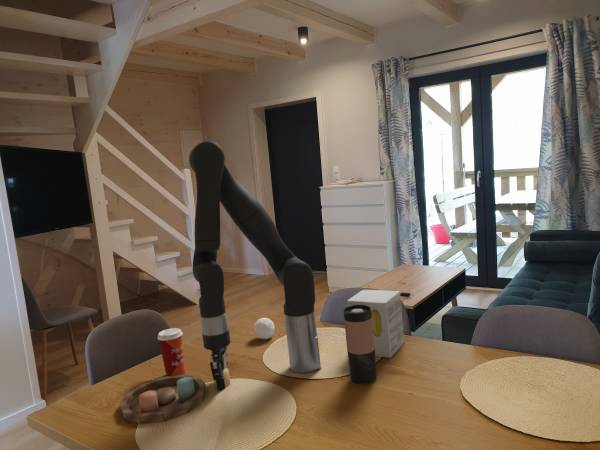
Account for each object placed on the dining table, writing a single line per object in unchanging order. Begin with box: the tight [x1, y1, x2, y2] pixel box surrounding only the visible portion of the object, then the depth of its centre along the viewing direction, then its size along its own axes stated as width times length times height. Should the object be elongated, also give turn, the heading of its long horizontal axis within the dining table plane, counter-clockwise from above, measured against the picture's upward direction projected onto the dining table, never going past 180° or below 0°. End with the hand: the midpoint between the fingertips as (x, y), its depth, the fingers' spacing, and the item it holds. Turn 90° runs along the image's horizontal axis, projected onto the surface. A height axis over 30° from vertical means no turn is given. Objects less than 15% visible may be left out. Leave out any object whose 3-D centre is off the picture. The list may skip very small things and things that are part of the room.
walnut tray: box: [119, 374, 208, 425], centre depth 123 cm, size 22×22×3 cm
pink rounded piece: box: [139, 391, 159, 413], centre depth 117 cm, size 4×4×5 cm
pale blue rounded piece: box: [177, 377, 195, 402], centre depth 122 cm, size 4×4×5 cm
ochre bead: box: [213, 367, 231, 389], centre depth 129 cm, size 4×4×5 cm
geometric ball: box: [252, 317, 275, 341], centre depth 164 cm, size 8×8×8 cm
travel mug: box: [343, 305, 378, 385], centre depth 124 cm, size 8×8×20 cm
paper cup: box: [157, 327, 186, 377], centre depth 141 cm, size 8×8×14 cm
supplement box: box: [347, 289, 405, 359], centre depth 144 cm, size 13×13×18 cm
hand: (222, 386), depth 129 cm, fingers closed on ochre bead, 4 cm apart
